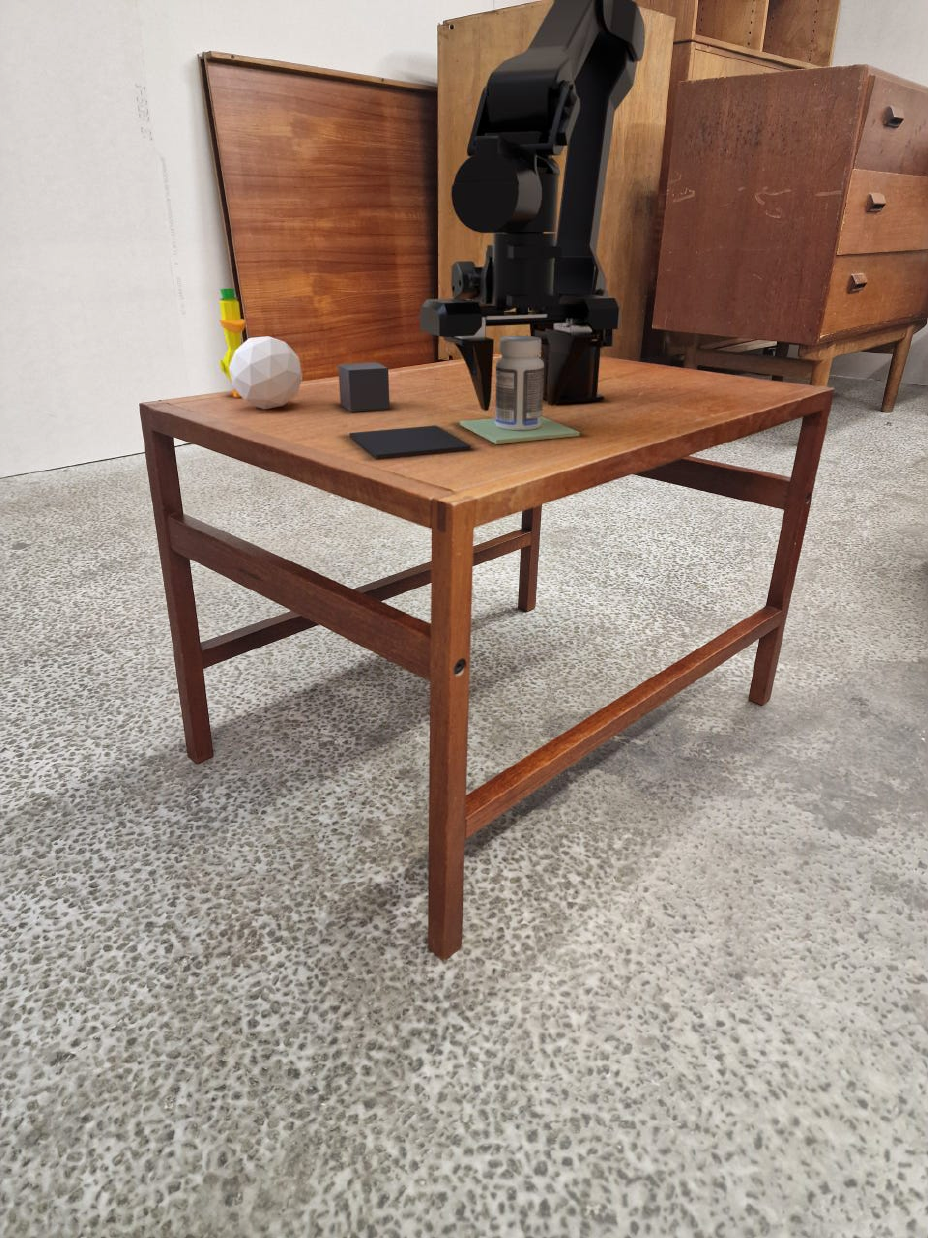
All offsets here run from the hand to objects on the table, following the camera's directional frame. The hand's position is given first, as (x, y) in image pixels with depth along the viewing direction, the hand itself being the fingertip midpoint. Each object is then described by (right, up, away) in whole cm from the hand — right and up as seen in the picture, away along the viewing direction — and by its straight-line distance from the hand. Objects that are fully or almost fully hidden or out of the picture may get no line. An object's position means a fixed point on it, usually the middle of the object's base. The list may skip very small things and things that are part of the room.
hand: (518, 407), depth 80 cm
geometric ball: (-27, +3, +11) cm, 30 cm away
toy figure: (-32, +6, +17) cm, 37 cm away
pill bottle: (0, -2, +1) cm, 2 cm away
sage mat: (0, -2, +1) cm, 2 cm away
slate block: (-17, +3, +11) cm, 20 cm away
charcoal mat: (-11, -4, -4) cm, 12 cm away
